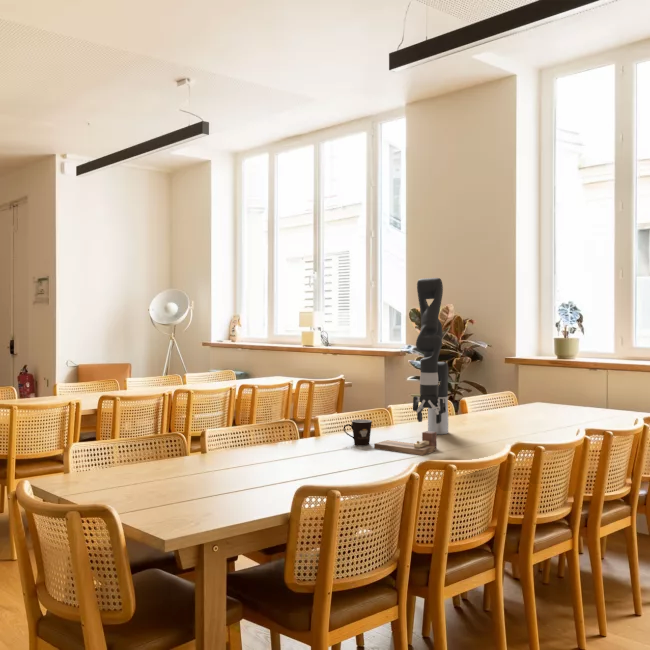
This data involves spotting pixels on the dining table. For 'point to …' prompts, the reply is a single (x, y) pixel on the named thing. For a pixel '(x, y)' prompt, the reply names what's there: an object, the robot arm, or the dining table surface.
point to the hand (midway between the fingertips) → (429, 422)
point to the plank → (403, 447)
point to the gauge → (427, 440)
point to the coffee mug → (360, 431)
